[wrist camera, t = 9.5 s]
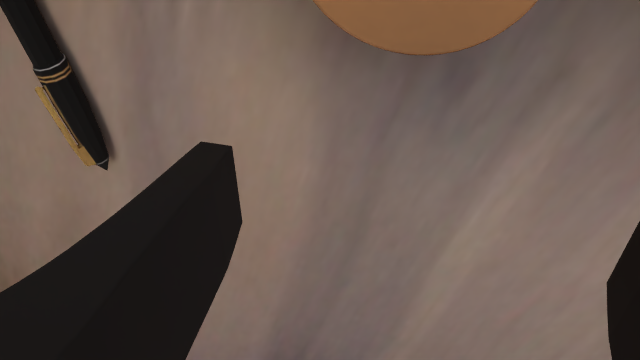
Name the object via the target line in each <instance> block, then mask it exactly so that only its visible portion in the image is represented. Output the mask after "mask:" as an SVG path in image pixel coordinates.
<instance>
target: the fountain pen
mask: <svg viewBox="0 0 640 360" xmlns="http://www.w3.org/2000/svg"><path fill="white" fill-rule="evenodd" d="M0 6H1V8H2V10H3V12H4V13H5V15H6V17H7V19H8V21H9V22H10V24H11V26H12V28H13V30H14V31H15V33H16V35H17V37H18V39H19V40H20V42H21V44H22V46H23V48H24V49H25V51H26V53H27V55H28V57H29V58H30V60H31V62H32V64H33V71H34V72H35V74H36V76H37V77H38V79H39V81H40V83H41V84H42V86H43V87H36V88H35V91H36V92H37V94H38V96H39V97H40V99H41V100H42V102H43V103H44V105H45V107H46V108H47V110H48V111H49V113H50V114H51V116H52V118H53V119H54V121H55V122H56V124H57V125H58V127H59V129H60V130H61V132H62V133H63V135H64V136H65V138H66V139H67V141H68V143H69V144H70V146H71V147H72V149H73V150H74V151H75V153H76V154H77V155H78V156H79V157H80V159H81V160H82V161H83V162H84V164H85V165H87V166H91V165H98V166H100V167H102V168H103V169H105V170H107V169H108V162H109V154H108V151H107V148H106V145H105V142H104V139H103V136H102V133H101V130H100V128H99V126H98V123H97V121H96V119H95V117H94V114H93V112H92V110H91V108H90V105H89V103H88V101H87V99H86V97H85V95H84V93H83V91H82V89H81V86H80V84H79V82H78V80H77V78H76V76H75V74H74V72H73V70H72V68H71V66H70V64H69V62H68V60H67V58H66V56H65V55H64V54H63V53H61V52H60V50H59V48H58V46H57V44H56V42H55V40H54V38H53V36H52V34H51V32H50V31H49V29H48V27H47V25H46V23H45V21H44V19H43V17H42V15H41V13H40V11H39V9H38V7H37V6H36V4H35V2H34V0H0ZM43 90H45V91H46V93H47V95H48V96H49V98H50V100H51V102H52V103H53V105H54V107H55V109H56V110H57V112H58V114H59V115H60V117H61V118H62V120H63V121H64V123H65V125H66V126H67V128H68V129H69V131H70V132H71V134H72V135H73V137H74V139H75V140H76V142H77V143H78V145H76V143H75V142H74V140H73V138H72V137H71V135H70V134H69V132H68V130H67V129H66V127H65V126H64V124H63V122H62V121H61V119H60V118H59V116H58V115H57V113H56V111H55V110H54V108H53V107H52V105H51V104H50V102H49V100H48V99H47V97H46V96H45V94H44V92H43Z"/></svg>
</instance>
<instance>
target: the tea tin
mask: <svg viewBox="0 0 640 360" xmlns="http://www.w3.org/2000/svg"><path fill="white" fill-rule="evenodd" d="M537 1H538V0H313V2H314V3H315V4H316V5H317V6H318V7H319V9H320V10H321V11H322V12H323V13H324V14H325V15H326V16H327V17H328V18H329V19H330V20H331V21H332V22H334V23H335V24H336V25H337V26H338V27H340V28H341V29H343V30H344V31H345V32H347V33H348V34H350V35H352V36H353V37H355V38H357V39H359V40H361V41H362V42H365V43H367V44H370V45H372V46H374V47H377V48H380V49H384V50H387V51H391V52H395V53H402V54H408V55H437V54H445V53H450V52H456V51H460V50H463V49H466V48H470V47H473V46H475V45H478V44H480V43H482V42H484V41H487V40H489V39H491V38H492V37H494V36H496V35H498V34H499V33H501V32H503V31H504V30H506V29H507V28H508V27H510V26H511V25H513V24H514V23H515V22H517V21H518V20H519V19H520V18H521V17H522V16H523V15H524V14H526V13H527V12H528V11H529V10H530V9H531V8H532V7H533V6H534V4H535V3H536V2H537Z"/></svg>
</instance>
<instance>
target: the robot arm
mask: <svg viewBox="0 0 640 360" xmlns="http://www.w3.org/2000/svg"><path fill="white" fill-rule="evenodd" d="M241 225H242V216H241V209H240V201H239V194H238V187H237V179H236V172H235V165H234V157H233V150H232V146H228V145H221V144H214V143H207V142H200V143H199V144H197V145H196V146H195V147H194V148H193V149H191V150H190V151H189V152H188V153H187V154H185V155H184V156H183V157H182V158H181V159H180V160H178V161H177V162H176V163H175V164H174V165H173V166H171V167H170V168H169V169H168V170H167V171H166V172H164V173H163V174H162V175H161V176H160V177H159V178H157V179H156V180H155V181H154V182H153V183H152V184H150V185H149V186H148V187H147V188H146V189H145V190H143V191H142V192H141V193H140V194H138V195H137V196H136V197H135V198H134V199H132V200H131V201H130V202H129V203H128V204H126V205H125V206H124V207H123V208H121V209H120V210H119V211H118V212H117V213H115V214H114V215H113V216H112V217H110V218H109V219H108V220H106V221H105V222H104V223H102V224H101V225H100V226H98V227H97V228H96V229H94V230H93V231H92V232H90V233H89V234H88V235H86V236H85V237H84V238H82V239H81V240H80V241H78V242H77V243H76V244H74V245H73V246H72V247H70V248H69V249H68V250H66V251H65V252H63V253H62V254H60V255H59V256H57V257H56V258H55V259H53V260H52V261H50V262H49V263H47V264H46V265H44V266H43V267H41V268H40V269H38V270H36V271H35V272H33V273H32V274H30V275H28V276H27V277H25V278H24V279H22V280H21V281H19V282H17V283H16V284H14V285H12V286H11V287H9V288H7V289H6V290H4V291H2V292H1V293H0V360H185V359H186V357H187V355H188V353H189V351H190V349H191V346H192V344H193V342H194V340H195V338H196V336H197V334H198V332H199V329H200V327H201V325H202V323H203V321H204V319H205V317H206V314H207V312H208V310H209V308H210V306H211V304H212V302H213V299H214V297H215V295H216V293H217V291H218V289H219V286H220V284H221V282H222V280H223V278H224V275H225V273H226V271H227V269H228V266H229V263H230V260H231V257H232V254H233V251H234V248H235V244H236V241H237V238H238V234H239V231H240V228H241ZM607 314H608V334H609V343H610V349H611V355H612V360H640V221H639V223H638V225H637V227H636V229H635V231H634V233H633V235H632V236H631V238H630V240H629V242H628V244H627V246H626V248H625V250H624V251H623V253H622V255H621V257H620V259H619V261H618V263H617V264H616V266H615V268H614V270H613V272H612V274H611V276H610V278H609V279H608V281H607Z"/></svg>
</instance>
